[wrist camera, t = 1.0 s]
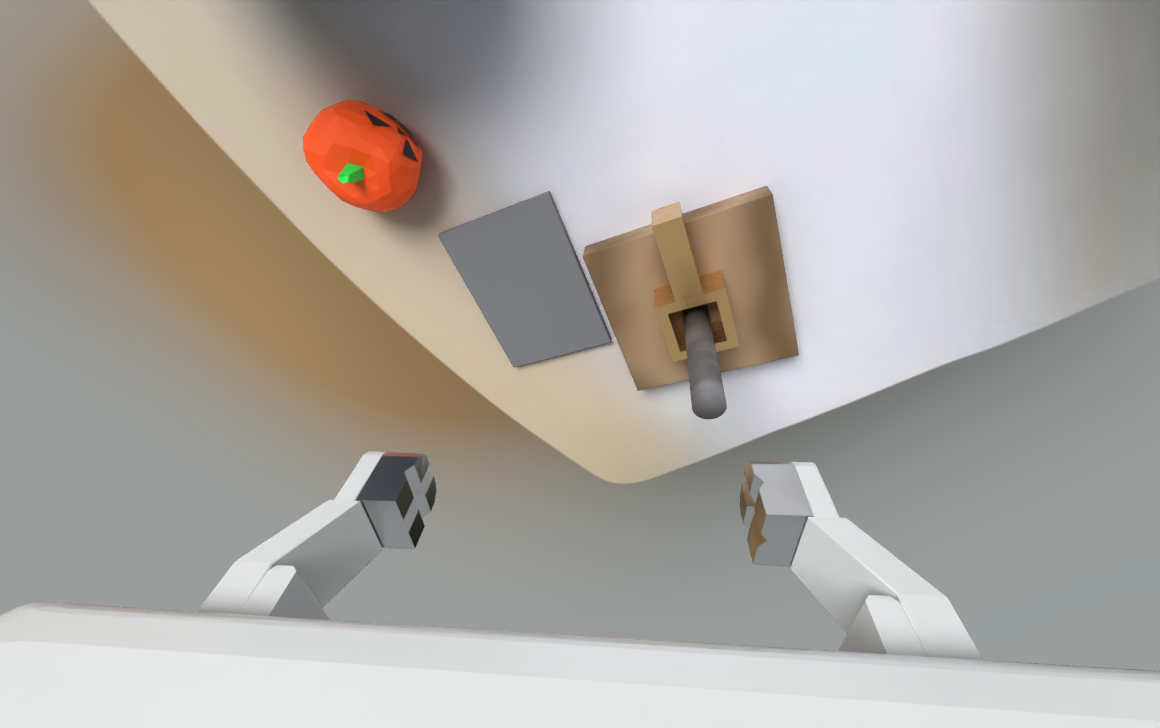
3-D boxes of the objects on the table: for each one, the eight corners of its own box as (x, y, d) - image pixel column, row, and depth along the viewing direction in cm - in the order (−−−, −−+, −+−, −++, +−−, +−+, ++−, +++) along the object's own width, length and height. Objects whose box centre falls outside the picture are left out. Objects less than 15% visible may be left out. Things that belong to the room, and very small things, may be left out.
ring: (702, 194, 32) (706, 208, 30) (734, 325, 38) (739, 346, 36) (630, 218, 34) (628, 234, 32) (671, 341, 40) (673, 362, 38)
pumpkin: (327, 81, 33) (267, 93, 28) (438, 119, 34) (399, 138, 29) (330, 181, 37) (279, 207, 32) (428, 213, 38) (394, 244, 33)
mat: (549, 191, 36) (548, 193, 35) (611, 338, 43) (610, 342, 42) (440, 232, 39) (437, 235, 38) (515, 363, 46) (513, 367, 46)
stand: (766, 185, 34) (823, 271, 22) (793, 341, 41) (846, 464, 30) (585, 246, 38) (557, 342, 27) (638, 377, 45) (633, 496, 34)
